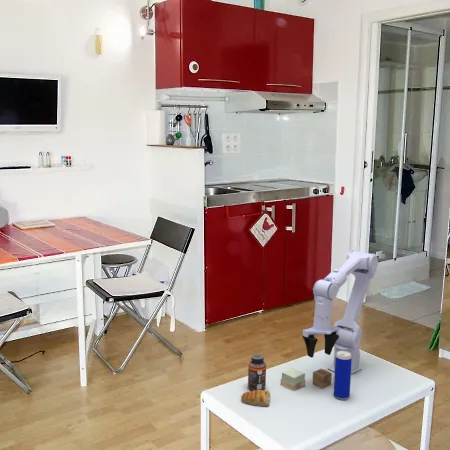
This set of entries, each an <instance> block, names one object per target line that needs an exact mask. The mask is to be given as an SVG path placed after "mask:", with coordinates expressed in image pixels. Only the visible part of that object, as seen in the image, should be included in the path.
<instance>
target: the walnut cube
mask: <svg viewBox="0 0 450 450" xmlns="http://www.w3.org/2000/svg"><path fill="white" fill-rule="evenodd" d="M311 384H312V385H314V386H315V387H318V388H320V389H322V390H323V389H325V388H328V387H330V386H332V372H330V371H328V370H326V369H323V368H319V369H317V370H315V371H313V372H312V383H311Z"/></svg>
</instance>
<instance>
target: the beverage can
mask: <svg viewBox="0 0 450 450" xmlns="http://www.w3.org/2000/svg"><path fill="white" fill-rule="evenodd" d="M351 362H352V356H351V353H350V352H347V351H338V352H337V353H336V356H335V372H334V379H333V396H334V398H336V399H337V400H343V401H345V400H348V399H349V398H350V394H351V380H352V379H351V377H352V374H351Z"/></svg>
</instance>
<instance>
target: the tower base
mask: <svg viewBox="0 0 450 450" xmlns="http://www.w3.org/2000/svg"><path fill="white" fill-rule="evenodd" d="M279 383H280V386H282V387H285V388H287V389H288V390H291V391H292V392H295V391H297V390H300V389H302V388H303V387H306V379H305V380H304V381H302V382H300V383H297V384H295V385H293V384H291V383H289V382H286V381H284V380H282V378H280V382H279Z"/></svg>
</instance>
